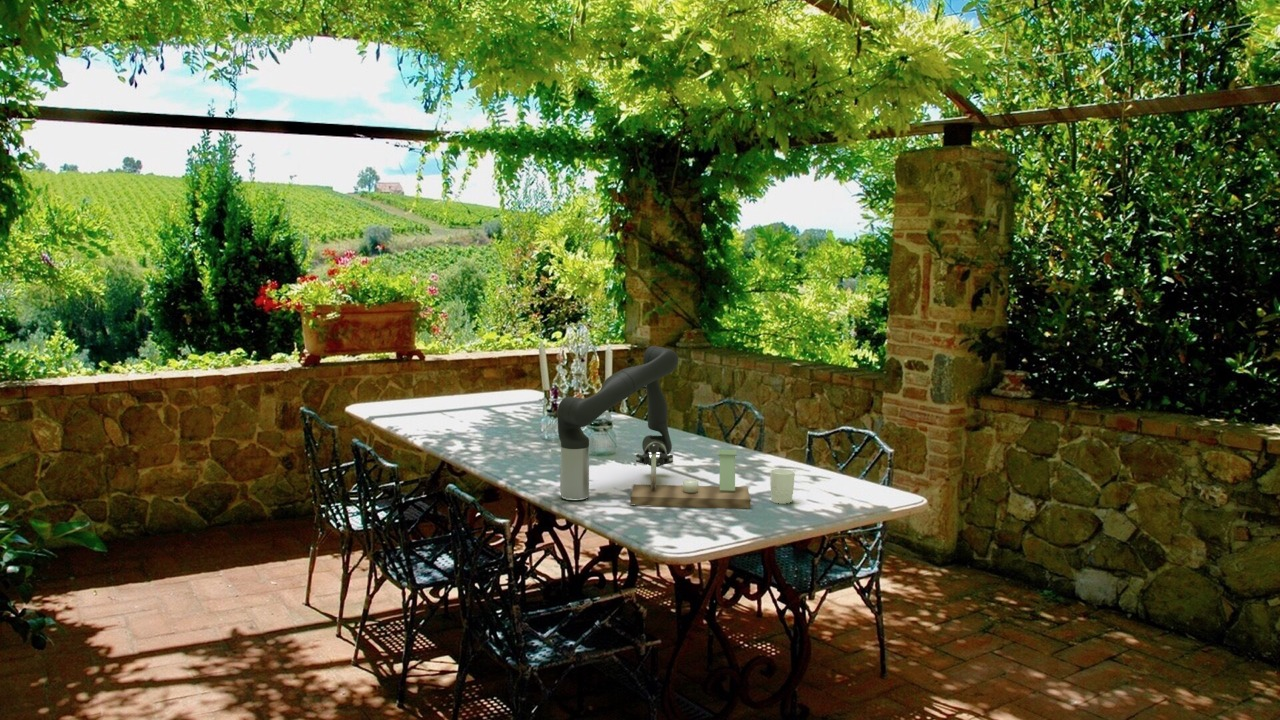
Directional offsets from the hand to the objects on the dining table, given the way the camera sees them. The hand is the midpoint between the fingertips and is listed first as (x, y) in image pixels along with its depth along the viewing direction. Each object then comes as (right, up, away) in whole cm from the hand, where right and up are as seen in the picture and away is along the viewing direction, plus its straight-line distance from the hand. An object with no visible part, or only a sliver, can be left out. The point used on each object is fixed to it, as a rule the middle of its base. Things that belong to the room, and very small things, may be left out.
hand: (653, 463), depth 313 cm
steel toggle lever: (0, -9, +2) cm, 9 cm away
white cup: (+42, -13, +2) cm, 44 cm away
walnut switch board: (+12, -12, +2) cm, 17 cm away
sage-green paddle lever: (+24, -9, 0) cm, 26 cm away
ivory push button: (+12, -9, +1) cm, 15 cm away
